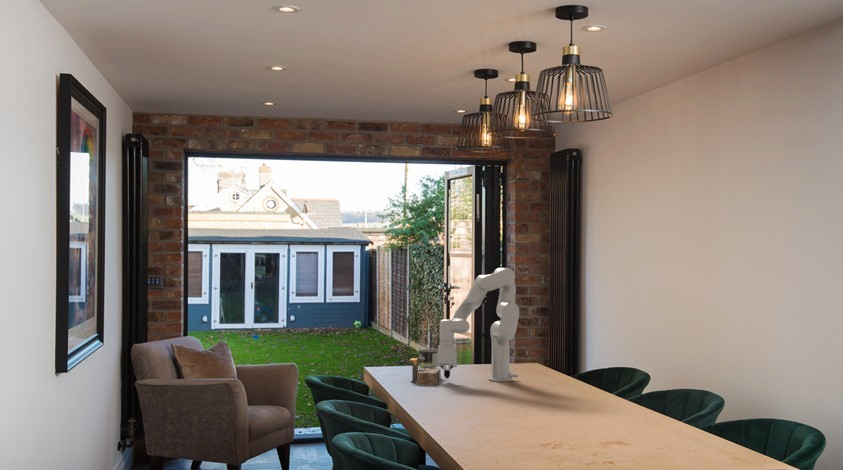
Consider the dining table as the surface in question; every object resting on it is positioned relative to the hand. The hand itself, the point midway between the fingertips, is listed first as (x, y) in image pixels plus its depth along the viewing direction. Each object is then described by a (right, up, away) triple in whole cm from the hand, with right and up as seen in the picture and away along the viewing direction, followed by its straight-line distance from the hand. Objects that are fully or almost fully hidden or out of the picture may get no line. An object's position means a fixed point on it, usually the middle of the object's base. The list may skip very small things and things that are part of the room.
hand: (447, 377), depth 416 cm
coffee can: (-10, -3, +20) cm, 23 cm away
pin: (-10, -1, +1) cm, 10 cm away
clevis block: (-11, -2, +2) cm, 12 cm away
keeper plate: (-18, +4, +3) cm, 18 cm away
